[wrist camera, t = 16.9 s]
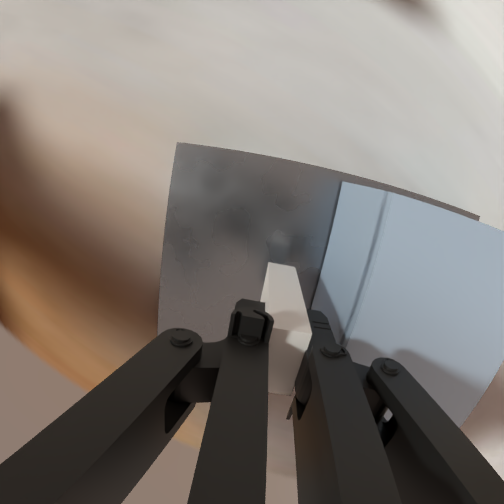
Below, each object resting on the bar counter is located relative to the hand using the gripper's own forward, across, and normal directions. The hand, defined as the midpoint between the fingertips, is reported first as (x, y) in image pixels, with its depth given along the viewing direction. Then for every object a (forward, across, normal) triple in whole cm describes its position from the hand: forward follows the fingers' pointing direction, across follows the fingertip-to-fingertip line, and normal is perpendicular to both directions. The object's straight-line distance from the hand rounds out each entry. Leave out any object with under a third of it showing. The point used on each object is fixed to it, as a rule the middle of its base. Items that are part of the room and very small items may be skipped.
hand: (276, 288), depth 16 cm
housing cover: (+2, -7, 0) cm, 8 cm away
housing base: (+4, -3, 0) cm, 5 cm away
